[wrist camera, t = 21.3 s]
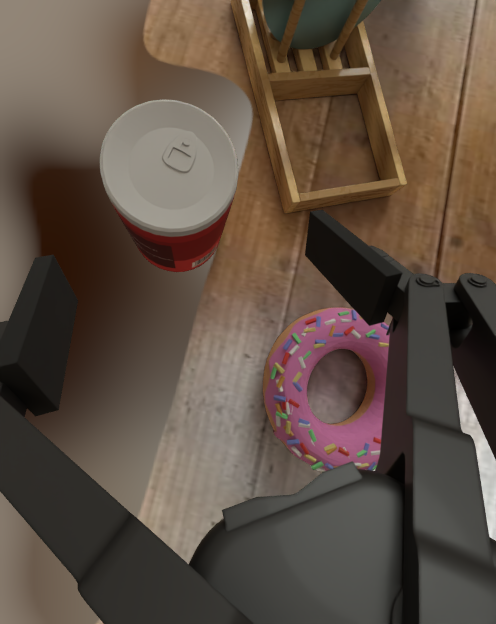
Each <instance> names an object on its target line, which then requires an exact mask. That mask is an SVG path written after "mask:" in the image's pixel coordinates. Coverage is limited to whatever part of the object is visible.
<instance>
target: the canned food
mask: <svg viewBox="0 0 496 624" xmlns="http://www.w3.org/2000/svg"><path fill="white" fill-rule="evenodd" d="M100 171H101V176H102V179H103V183H104V186H105V190H106V192H107V194H108V196H109V198H110V200H111V203H112V204H113V206H114V208H115V210H116V212H117V213H118V215H119V217H120V218H121V220H122V222H123V224H124V225H125V227H126V229H127V230H128V232H129V234H130V235H131V237H132V239H133V241H134V242H135V244H136V246H137V247H138V249H139V251H140V252H141V253H142V255H143V256H144V257H145V258H146V259H147V260H148V261H149V262H150V263H151V264H153V265H155V266H157V267H158V268H161V269H164V270H167V271H173V272H184V271H189V270H192V269H195V268H196V267H199V266H201V265H202V264H204V263H205V262H206V261H207V260H208V259H209V258H210V257H211V256H212V255H213V254H214V252H215V250H216V248H217V246H218V244H219V241H220V238H221V235H222V232H223V229H224V226H225V223H226V220H227V217H228V214H229V211H230V208H231V205H232V202H233V199H234V195H235V192H236V188H237V180H238V159H237V156H236V152H235V148H234V146H233V144H232V141H231V139H230V137H229V136H228V134H227V133H226V131H225V130H224V128H223V127H222V126H221V125H220V124H219V123H218V122H217V121H216V120H215V119H214V118H213V117H212V116H211V115H209V114H208V113H206V112H205V111H203V110H202V109H200V108H198V107H195V106H193V105H191V104H188V103H185V102H180V101H176V100H155V101H149V102H146V103H143V104H140V105H137V106H135V107H133V108H131V109H130V110H128V111H126V112H125V113H124V114H123V115H121V116H120V117H119V118H118V119H117V120H116V121H115V122H114V124H113V125H112V126H111V128H110V129H109V130H108V132H107V134H106V137H105V139H104V141H103V144H102V148H101V154H100Z"/></svg>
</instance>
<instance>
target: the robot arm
mask: <svg viewBox="0 0 496 624" xmlns="http://www.w3.org/2000/svg"><path fill="white" fill-rule="evenodd" d="M305 255H306V257H307V258H308V259H309V260H310V261H311V262H312V263H313V264H314V265H315V266H316V268H317V269H318V270H319V271H320V272H321V273H322V274H323V275H324V276H325V278H326V279H327V280H328V281H329V282H330V283H331V284H332V285H333V286H334V288H335V289H336V290H337V291H338V292H339V293H340V294H341V295H342V296H343V298H344V299H345V300H346V301H347V302H348V303H349V304H350V305H351V306H352V307H353V309H354V310H355V311H356V312H357V313H358V314H359V315H360V316H361V317H362V319H363V320H364V321H365V322H366V323H367V324H368V325H369V326H371V325H375V324H379V323H382V322H384V320H385V317H386V315H387V312H388V313H389V314H390V315H391V316H392V317H393V319H392V321H391V323H390V326H389V328H388V331H387V333H386V335H389V333H390V336H389V348H388V361H387V373H386V386H385V398H384V410H383V423H382V435H381V448H380V456H379V460H378V463H377V467H376V471H371V470H364V469H357V467H356V465H355V464H354V462H353V461H351V462H349V463H346V464H343V465H341V466H338V467H335V468H333V469H330V470H327V471H325V472H323V473H321V474H320V475H319V476H318V477H316V478H315V479H314V480H313V481H311V482H310V483H309V484H308V485H306V486H305V487H304V488H303V489H301V490H300V491H299V492H298V493H296V494H293V495H283V496H267V497H256V498H253V499H250V500H248V501H245V502H242V503H240V504H237V505H234V506H232V507H229V508H226V509H224V510H222V512H223V517H224V519H222V520H221V521H220V522H218V523H217V524H216V525H215V526H214V527H213V528H212V529H211V530H210V531H209V532H208V533H207V534H206V536H205V537H204V538H203V540H202V541H201V543H200V544H199V546H198V547H197V549H196V551H195V553H194V555H193V557H192V559H191V561H190V563H189V565H188V564H187V563H186V562H185V561H184V560H183V559H182V558H181V557H180V556H178V555H177V554H176V553H175V552H174V551H173V550H172V549H171V548H170V547H168V546H167V545H166V544H165V543H164V542H163V541H162V540H161V539H160V538H158V537H157V536H156V535H155V534H154V533H153V532H152V531H151V530H150V529H148V528H147V527H146V526H145V525H144V524H143V523H142V522H141V521H139V520H138V519H137V518H136V517H135V516H134V515H132V514H131V513H130V512H129V511H128V510H127V509H126V508H124V507H123V506H122V505H121V504H120V503H119V502H118V501H117V500H116V499H114V498H113V497H112V496H111V495H110V494H109V493H108V492H106V490H104V489H103V488H102V487H101V486H100V485H99V484H98V483H97V482H96V481H94V480H93V479H92V478H91V477H90V476H89V475H88V474H87V473H86V472H84V471H83V470H82V469H81V468H80V467H79V466H78V465H77V464H75V463H74V462H73V461H72V460H71V459H70V458H69V457H68V456H67V455H65V454H64V453H63V452H62V451H61V450H60V449H59V448H58V447H57V446H55V445H54V444H53V443H52V442H51V441H50V440H49V439H48V438H47V437H45V436H44V435H43V434H42V433H41V432H40V431H39V430H38V429H37V428H36V427H34V426H33V425H32V424H31V423H30V422H29V421H28V420H27V419H26V418H24V417H25V413H26V409H29V410H30V411H31V412H32V413H33V414H34V415H35V416H38V415H42V414H45V413H49V412H53V411H56V410H59V404H60V398H61V393H62V388H63V382H64V376H65V370H66V364H67V359H68V353H69V348H70V343H71V337H72V331H73V326H74V320H75V314H76V309H77V303H78V300H77V298H76V296H75V294H74V292H73V290H72V289H71V287H70V285H69V283H68V281H67V280H66V277H65V276H64V274H63V272H62V270H61V268H60V266H59V265H58V263H57V261H56V259H55V257H54V255H50V256H44V257H38V258H35V260H34V262H33V264H32V267H31V269H30V271H29V274H28V276H27V278H26V281H25V283H24V286H23V288H22V290H21V293H20V295H19V297H18V300H17V302H16V304H15V307H14V309H13V311H12V314H11V316H10V319H9V321H4V322H0V492H1V493H2V494H3V495H4V496H5V497H6V499H7V500H8V501H9V502H10V503H11V504H12V506H13V507H14V508H15V509H16V510H17V511H18V513H19V514H20V515H21V516H22V517H23V518H24V519H25V520H26V522H27V523H28V524H29V525H30V526H31V527H32V529H33V530H34V531H35V532H36V533H37V535H38V536H39V537H40V538H41V539H42V540H43V542H44V543H45V544H46V545H47V546H48V547H49V549H50V550H51V551H52V552H53V553H54V554H55V556H56V557H57V558H58V559H59V560H60V561H61V563H62V564H63V565H64V566H65V567H66V568H67V570H68V571H69V572H70V573H71V574H72V575H73V577H74V578H75V579H76V581H77V583H78V591H79V592H80V594H81V596H82V597H83V599H84V600H85V601H86V603H87V604H88V605H89V606H90V608H91V609H92V610H93V611H94V612H95V613H96V615H97V616H98V617H99V618H100V620H101V621H102V622H103V623H104V624H496V541H495V540H493V539H492V538H490V537H489V533H488V526H487V520H486V513H485V507H484V500H483V494H482V487H481V481H480V474H479V468H478V461H477V455H476V448H475V444H474V441H473V439H472V437H471V436H470V435H468V434H465V433H463V432H462V430H461V426H460V418H459V409H458V401H457V393H456V385H455V377H454V369H453V366H454V368H455V371H456V373H457V375H458V377H459V379H460V382H461V384H462V386H463V388H464V390H465V393H466V395H467V397H468V399H469V402H470V404H471V406H472V408H473V410H474V413H475V415H476V417H477V419H478V422H479V424H480V426H481V428H482V430H483V433H484V435H485V437H486V439H487V441H488V444H489V446H490V448H491V450H492V453H493V455H494V457H495V459H496V285H495V283H494V282H493V281H491V280H490V279H488V278H486V277H485V276H483V275H480V274H473V273H465V274H462V275H461V276H460V277H459V279H458V281H457V283H442V282H441V281H440V280H438V279H437V278H435V277H433V276H430V275H427V274H413V273H412V272H410V271H409V270H408V269H406V268H405V267H404V266H402V265H401V264H400V263H398V262H397V261H395V260H394V259H393V258H392V257H390V256H389V255H388V254H387V253H385V252H384V251H383V250H381V249H379V248H376V247H374V246H368V245H367V244H366V243H364V242H363V241H362V240H360V239H359V238H358V237H357V236H355V235H354V234H353V233H352V232H350V231H349V230H348V229H346V228H345V227H344V226H343V225H341V224H340V223H339V222H338V221H336V220H335V219H334V218H332V217H331V216H330V215H329V214H327V213H326V212H325V211H323V210H318V211H312V212H310V217H309V226H308V234H307V243H306V251H305Z"/></svg>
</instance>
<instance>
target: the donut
mask: <svg viewBox="0 0 496 624" xmlns="http://www.w3.org/2000/svg"><path fill="white" fill-rule="evenodd" d="M388 328H389V326H388V325H387V324H386V323H384V322H382V323H379V324H375V325H371V326H369V325H368V324H367V323H366V322H365V321H364V320H363V319H362V317H361V316H360V315H359V314H358V313H357V312H356V311H355V310H354V309H349V308H326V309H320V310H316V311H314V312H311V313H308V314H306V315H304V316H302V317H300V318H298V319H297V320H295V321H294V322H293V323H291V324H290V325H289V326H288V327H287V328H286V329H285V330H284V331H283V332H282V333H281V335H280V336H279V337H278V338H277V340H276V341H275V343H274V345H273V347H272V349H271V351H270V353H269V356H268V358H267V361H266V365H265V369H264V377H263V397H264V404H265V409H266V412H267V415H268V418H269V420H270V423H271V425H272V427H273V429H274V430H273V432H274V435H275V436H276V437H277V438H278V439H280V440H281V441H282V442H283V443H284V445H285V446H286V447H287V448H288V449H289V450H290V452H291V453H292V454H294V455H295V456H296V457H297V458H299V459H301V460H303V461H305V462H306V463H308V464H310V465H311V468H312V469H313V470H316V471H319V472H322V473H323V472H325V471H327V470H330V469H333V468H335V467H338V466H341V465H343V464H346V463H349V462H351V461H353V462H354V464H355V465H356V467H357V469H364V470H365V469H367V470H371V471H372V470H374V469H376V467H377V463H378V460H379V456H380V448H381V435H382V423H383V410H384V398H385V386H386V373H387V361H388V348H389V336H390V333H389V335H386V333H387V331H388ZM335 349H349V350H352V351H353V352H354V353H356V354H357V355H358V357H359V358H360V359H361V361H362V362H363V365H364V367H365V370H366V375H367V391H366V394H365V397H364V400H363V402H362V404H361V405H360V407H359V409H358V410H357V411H356V412H355V413H354V414H353V415H352V416H351V417H349V418H348V419H347V420H345V421H342V422H340V423H335V424H327V423H323V422H322V421H320V420H319V419H318V418H316V417H315V416H314V414H313V413H312V411H311V409H310V407H309V404H308V399H307V385H308V380H309V377H310V374H311V372H312V370H313V368H314V367H315V365H316V364H317V363H318V362H319V360H320V359H321V358H322V357H323V356H324V355H326V354H327V353H329V352H331V351H333V350H335Z"/></svg>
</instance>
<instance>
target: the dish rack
mask: <svg viewBox="0 0 496 624" xmlns="http://www.w3.org/2000/svg"><path fill="white" fill-rule="evenodd" d="M380 1H381V0H231V6H232V10H233V14H234V18H235V22H236V26H237V30H238V33H239V37H240V41H241V45H242V49H243V53H244V57H245V61H246V65H247V69H248V73H249V77H250V81H251V85H252V89H253V92H254V96H255V100H256V104H257V108H258V112H259V116H260V120H261V124H262V128H263V132H264V136H265V140H266V144H267V147H268V151H269V155H270V159H271V163H272V167H273V171H274V175H275V179H276V183H277V187H278V191H279V195H280V199H281V203H282V206H283V210H284V213H291V212H296V211H302V210H308V209H314V208H320V207H326V206H332V205H337V204H343V203H349V202H355V201H361V200H367V199H373V198H379V197H384V196H391V195H392V194H393V193H395V192H396V191H398V190H399V189H401V188H402V187H404V186H405V185H406V184H407V182H406V179H405V175H404V171H403V168H402V164H401V160H400V156H399V153H398V149H397V145H396V142H395V138H394V134H393V130H392V127H391V123H390V119H389V115H388V112H387V108H386V104H385V101H384V97H383V93H382V89H381V86H380V82H379V78H378V75H377V71H376V67H375V63H374V60H373V56H372V52H371V49H370V45H369V41H368V37H367V34H366V30H365V26H364V23H363V20H364V19H365V18H366V17H367V16H368V15H369V14H370V13H371V12H372V11H373V10H374V9H375V7H376V6H377V5H378V4H379V3H380ZM251 9H256V13H257V17H258V21H259V25H260V29H261V33H262V37H263V41H264V44H265V48H266V52H267V56H268V60H269V64H270V68H271V72H272V73H267V70H266V66H265V62H264V58H263V54H262V50H261V46H260V42H259V38H258V34H257V31H256V27H255V23H254V19H253V15H252V11H251ZM336 40H337V41H336ZM344 46H345V50H346V54H347V57H348V61H349V65H350V68H348V69H343V67H342V63H341V59H340V56H339V54H340V52H341V50H342V49H343V47H344ZM289 47H291V48H292V49H293V53H294V57H295V61H296V65H297V68H298V72H291V71H290V67H289V63H288V59H287V53H288V50H289ZM317 47H318V50H319V54H320V58H321V62H322V65H323V69H324V70H317V67H316V63H315V59H314V55H313V51H312V49H313V48H317ZM348 94H357V95H358V99H359V102H360V106H361V110H362V114H363V117H364V121H365V125H366V129H367V132H368V136H369V140H370V144H371V147H372V151H373V155H374V159H375V162H376V166H377V170H378V174H379V177H380V181H376V182H370V183H363V184H357V185H350V186H344V187H338V188H331V189H325V190H319V191H312V192H306V193H299V194H298V190H297V186H296V183H295V179H294V175H293V171H292V167H291V163H290V159H289V155H288V151H287V147H286V144H285V140H284V136H283V132H282V128H281V124H280V120H279V116H278V112H277V108H276V105H275V101H274V100H286V99H299V98H311V97H323V96H335V95H348Z"/></svg>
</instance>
